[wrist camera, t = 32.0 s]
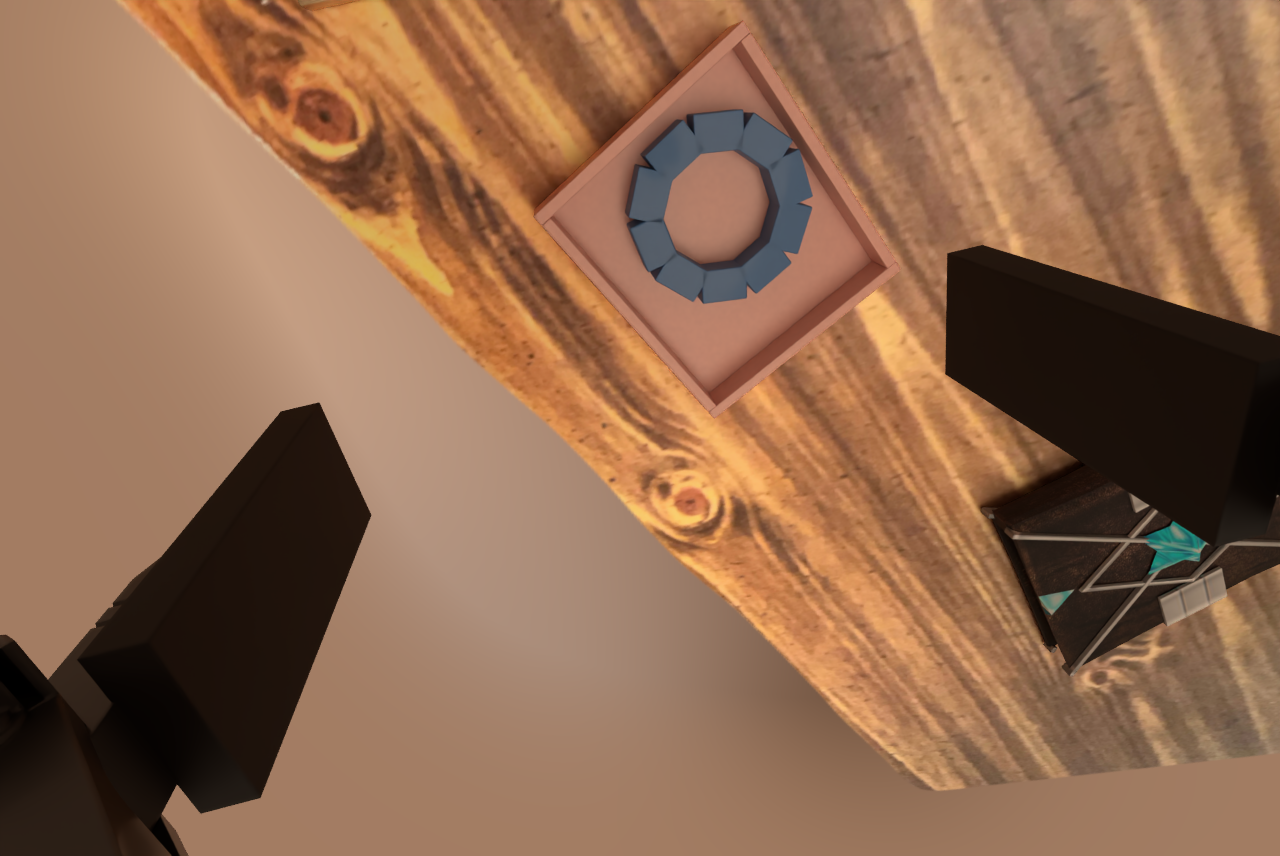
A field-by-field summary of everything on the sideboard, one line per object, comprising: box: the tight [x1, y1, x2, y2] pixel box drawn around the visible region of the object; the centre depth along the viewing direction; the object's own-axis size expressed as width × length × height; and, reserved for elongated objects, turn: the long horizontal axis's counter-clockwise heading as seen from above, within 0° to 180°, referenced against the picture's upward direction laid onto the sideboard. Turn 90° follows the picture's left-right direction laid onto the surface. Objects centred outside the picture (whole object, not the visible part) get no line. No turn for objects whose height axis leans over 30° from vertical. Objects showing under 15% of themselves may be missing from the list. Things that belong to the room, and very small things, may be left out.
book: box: [981, 465, 1280, 676], centre depth 48 cm, size 22×17×5 cm
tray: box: [534, 21, 901, 418], centre depth 36 cm, size 15×13×2 cm
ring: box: [625, 109, 813, 304], centre depth 35 cm, size 9×10×2 cm
